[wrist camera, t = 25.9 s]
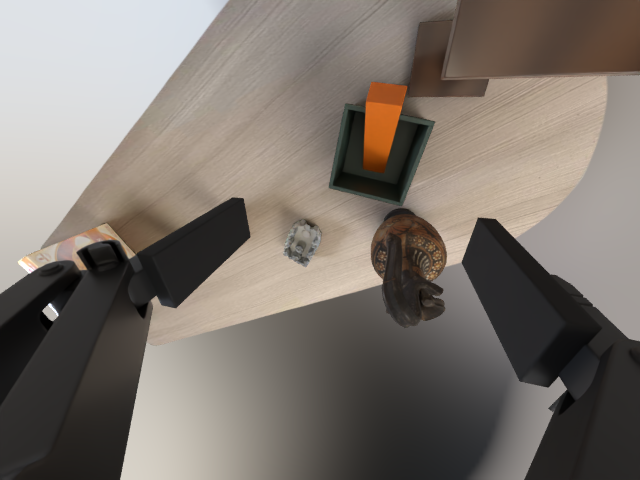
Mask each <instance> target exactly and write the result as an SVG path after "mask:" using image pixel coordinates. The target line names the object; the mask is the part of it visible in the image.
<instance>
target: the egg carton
mask: <svg viewBox="0 0 640 480" xmlns="http://www.w3.org/2000/svg"><path fill="white" fill-rule="evenodd" d="M321 234H322V233H321V232H320V230H319V227H318V226H316V225H315V226H314V227H310V226H309V225H307V224H306V220H303V219H302V220H301V221H297V222H296V223H295V224H294V225H293V226H292V228H291V230H290V233H289V235H288V237H287V239H286V242H285V248H284V253H283V254H284V256H288V257H289V259H293V260H294V261H295V262H297V263H298V264H301V265H303V266H304V267H306V266H307V265H308V264H309V262H310V260H311V259H312V257H313V255H314V253H315V251H316V250H317V248H318V246H319V244H320V240H321Z"/></svg>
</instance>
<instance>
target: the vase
mask: <svg viewBox="0 0 640 480" xmlns="http://www.w3.org/2000/svg"><path fill="white" fill-rule="evenodd" d="M371 260H372V264H373V267H374V269H375V271H376V272H377V274H378V275H379V276H380V277H381V278H382V279H383V285H382V294H383V300H384V303H385V306H386V312H387V313H388V314H390V315H391V317H392V318H393V319H394V321H395V322H396V323H398V324H399V325H401V326H402V327H404V328H408V327H409V326H416V325H418V323H419V322H420V320H423V321H427V320H431V319H433V318H436V317H438V316H440V315H441V314H442V313H443V312H444V311H445V307H444V301H443V300H441V299H438V298H434V297H433V296H432V295H435V296H440V295H441V294H442V293H443V289H442V288H441V287H439V286H438V285H436V284H434V283H431V281H433V280H434V279H436V278H437V277H438V276H439V275H440V274H441V272H442V271H443V269H444V267H445V265H446V260H447V252H446V248H445V244H444V242H443V240H442V238H441V236H440V235H439V233H438V232H437V230H436V229H435V228H434V227H433V226H432V225H431V224H429V223H428V222H427V221H425V220H424V219H422V218H420V217H418V216H416V215H415V214H414V213H413V212H411V211H410V210H407V209H396V210H393V211H391V212H390V213H389V214H388V215H387V216H386V217H385V219H384V222H383V223H382V224H381V225H380V227H379V228H378V229H377V231H376V233H375V235H374V237H373V240H372V244H371Z"/></svg>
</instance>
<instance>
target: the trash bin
mask: <svg viewBox="0 0 640 480" xmlns="http://www.w3.org/2000/svg"><path fill="white" fill-rule="evenodd" d="M344 108H345V109H344V112H343V117H342V122H341V127H340V132H339V137H338V142H337V147H336V153H335V158H334V163H333V168H332V173H331V178H330V183H329V188H331V189H335V190H339V191H343V192H347V193H351V194H355V195H359V196H363V197H367V198H371V199H375V200H379V201H383V202H387V203H391V204H395V205H399V206H402V205H403V203H404V200H405V197H406V195H407V192H408V190H409V187H410V185H411V182H412V180H413V177H414V175H415V172H416V170H417V167H418V164H419V162H420V159H421V157H422V154H423V152H424V149H425V147H426V144H427V142H428V139H429V136H430V134H431V131H432V129H433V126H434V124H435V122H434V121H430V120H427V119H422V118H417V117H413V116H408V115H403V114H400V116H399V120H398V124H397V127H396V131H395V135H394V138H393V142H392V146H391V149H390V153H389V157H388V160H387V164H386V168H385V171H384V173H379V172H374V171H368V170H363V156H364V135H365V114H366V107H363V106H358V105H353V104H345V107H344Z"/></svg>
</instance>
